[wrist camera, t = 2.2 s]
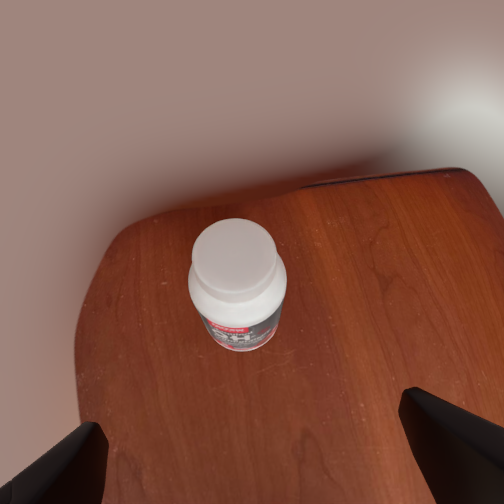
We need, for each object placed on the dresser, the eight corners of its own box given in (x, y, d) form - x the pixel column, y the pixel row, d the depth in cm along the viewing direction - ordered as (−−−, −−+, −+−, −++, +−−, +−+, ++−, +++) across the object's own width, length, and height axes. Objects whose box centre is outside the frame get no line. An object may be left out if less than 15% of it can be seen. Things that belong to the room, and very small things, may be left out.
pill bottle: (219, 363, 22) (193, 324, 13) (197, 297, 24) (164, 224, 16) (290, 337, 22) (311, 282, 14) (263, 274, 25) (265, 192, 16)
